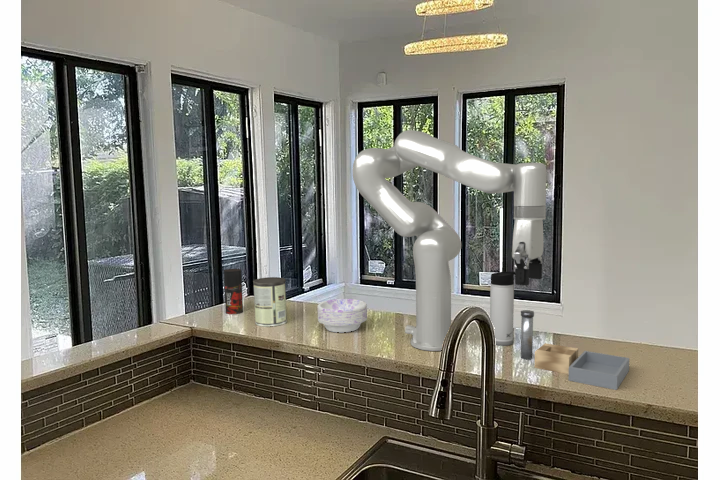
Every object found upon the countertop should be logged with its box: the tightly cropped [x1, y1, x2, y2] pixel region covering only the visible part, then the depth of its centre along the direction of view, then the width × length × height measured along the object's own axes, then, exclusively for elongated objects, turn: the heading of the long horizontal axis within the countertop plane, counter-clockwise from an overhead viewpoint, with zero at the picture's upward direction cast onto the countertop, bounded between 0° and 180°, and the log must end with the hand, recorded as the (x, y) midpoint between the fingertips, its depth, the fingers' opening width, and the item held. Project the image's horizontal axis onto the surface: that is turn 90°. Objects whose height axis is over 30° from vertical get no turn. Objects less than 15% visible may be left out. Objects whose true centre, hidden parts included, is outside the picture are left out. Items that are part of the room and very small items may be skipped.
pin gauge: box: [520, 309, 535, 361], centre depth 137 cm, size 3×3×12 cm
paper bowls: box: [316, 298, 368, 334], centre depth 167 cm, size 15×15×8 cm
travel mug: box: [489, 270, 515, 347], centre depth 150 cm, size 6×7×20 cm
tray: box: [568, 350, 630, 391], centre depth 125 cm, size 10×14×3 cm
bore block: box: [534, 342, 579, 375], centre depth 131 cm, size 8×8×4 cm
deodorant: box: [223, 268, 244, 315], centre depth 190 cm, size 6×6×15 cm
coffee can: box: [252, 276, 288, 328], centre depth 175 cm, size 10×10×14 cm
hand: (528, 281), depth 136 cm, fingers open, 9 cm apart
